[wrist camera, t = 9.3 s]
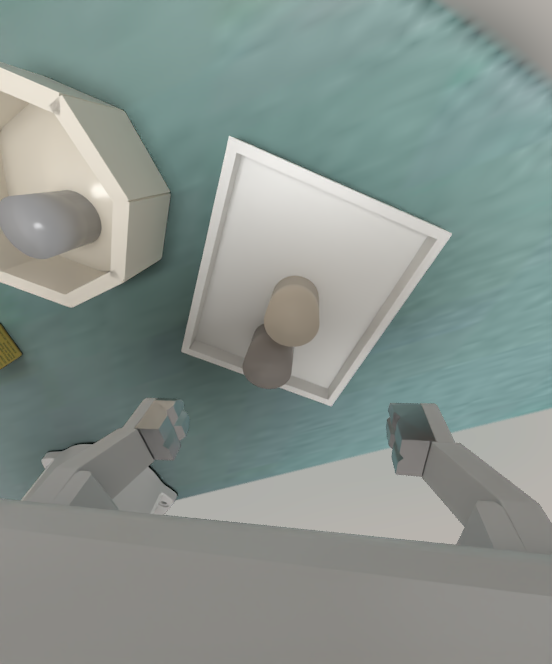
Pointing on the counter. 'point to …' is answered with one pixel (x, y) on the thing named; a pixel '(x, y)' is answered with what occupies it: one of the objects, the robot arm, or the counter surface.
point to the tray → (303, 266)
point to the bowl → (78, 185)
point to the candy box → (7, 349)
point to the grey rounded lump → (49, 222)
